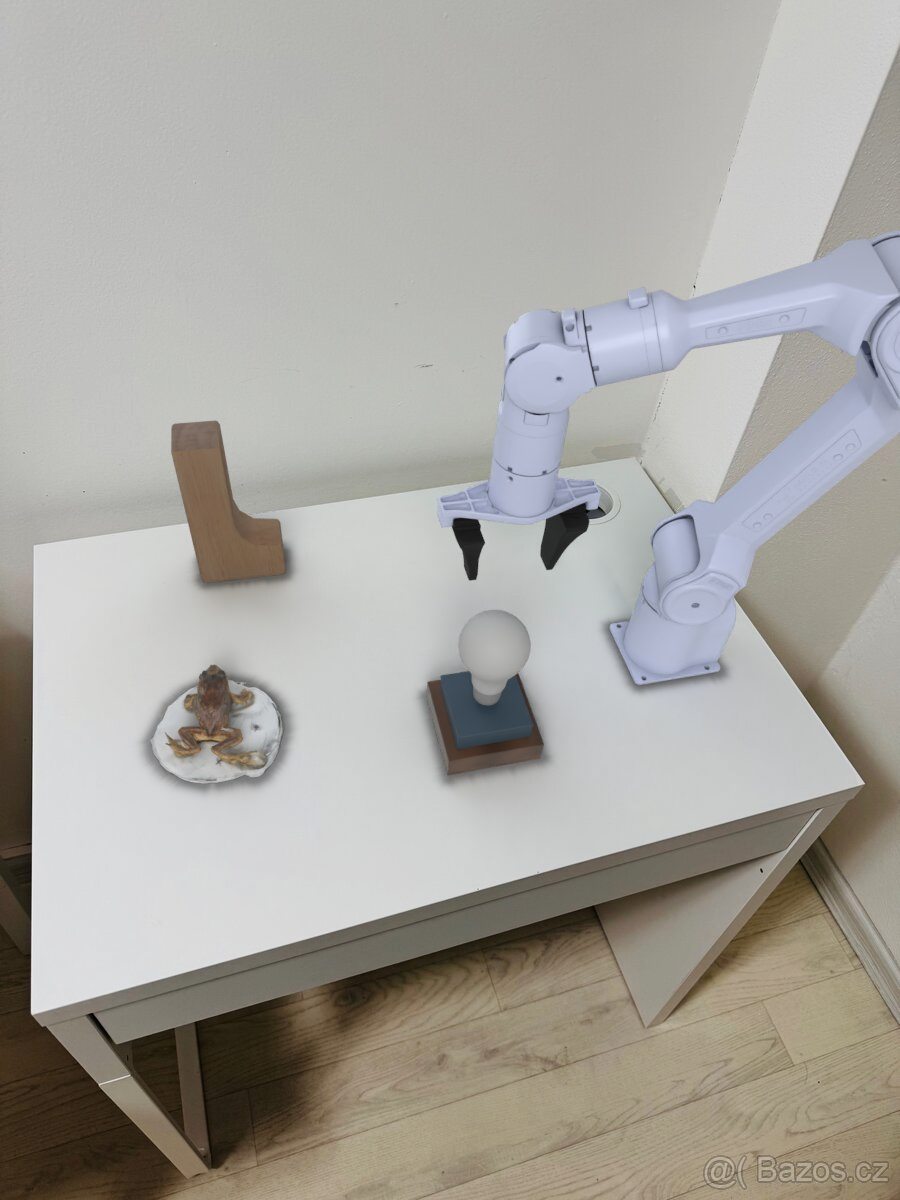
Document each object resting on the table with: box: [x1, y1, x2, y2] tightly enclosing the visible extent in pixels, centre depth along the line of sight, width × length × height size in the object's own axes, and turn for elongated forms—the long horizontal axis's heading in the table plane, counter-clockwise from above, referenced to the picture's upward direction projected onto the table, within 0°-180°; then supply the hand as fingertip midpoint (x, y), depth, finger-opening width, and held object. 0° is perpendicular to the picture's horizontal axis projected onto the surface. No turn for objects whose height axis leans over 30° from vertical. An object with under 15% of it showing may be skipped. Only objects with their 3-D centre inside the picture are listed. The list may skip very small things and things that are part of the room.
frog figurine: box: [149, 664, 284, 785], centre depth 77 cm, size 12×12×4 cm
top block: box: [439, 670, 533, 749], centre depth 78 cm, size 7×7×2 cm
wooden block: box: [170, 420, 287, 584], centre depth 86 cm, size 9×4×18 cm, turn 102°
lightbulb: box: [457, 609, 532, 706], centre depth 73 cm, size 6×6×11 cm
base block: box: [425, 672, 545, 776], centre depth 79 cm, size 9×9×2 cm
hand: (508, 567), depth 80 cm, fingers open, 7 cm apart
